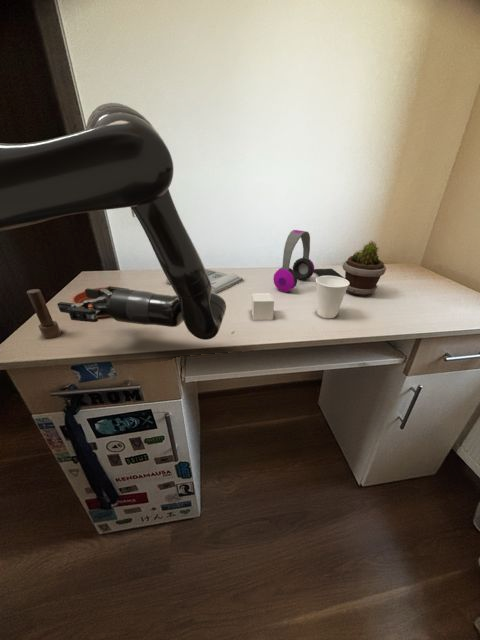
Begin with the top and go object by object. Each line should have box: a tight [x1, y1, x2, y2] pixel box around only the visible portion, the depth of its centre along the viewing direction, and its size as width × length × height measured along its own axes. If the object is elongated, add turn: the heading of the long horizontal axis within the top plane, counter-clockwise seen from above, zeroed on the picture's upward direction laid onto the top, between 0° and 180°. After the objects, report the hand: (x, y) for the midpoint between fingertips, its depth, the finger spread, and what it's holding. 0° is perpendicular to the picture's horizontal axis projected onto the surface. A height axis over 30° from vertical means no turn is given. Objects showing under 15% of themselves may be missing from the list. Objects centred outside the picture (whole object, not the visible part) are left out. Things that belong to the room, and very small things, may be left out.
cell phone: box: [313, 268, 345, 279], centre depth 119 cm, size 9×18×1 cm, turn 12°
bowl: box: [70, 286, 114, 319], centre depth 86 cm, size 15×15×4 cm
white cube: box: [251, 292, 275, 321], centre depth 86 cm, size 6×6×6 cm
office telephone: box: [165, 268, 243, 294], centre depth 109 cm, size 23×3×20 cm
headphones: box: [272, 229, 315, 293], centre depth 105 cm, size 21×9×20 cm, turn 148°
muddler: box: [26, 288, 62, 339], centre depth 70 cm, size 4×4×12 cm
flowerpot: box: [341, 239, 387, 298], centre depth 101 cm, size 14×15×20 cm
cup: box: [315, 276, 350, 319], centre depth 86 cm, size 10×10×11 cm
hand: (73, 299), depth 66 cm, fingers open, 8 cm apart
